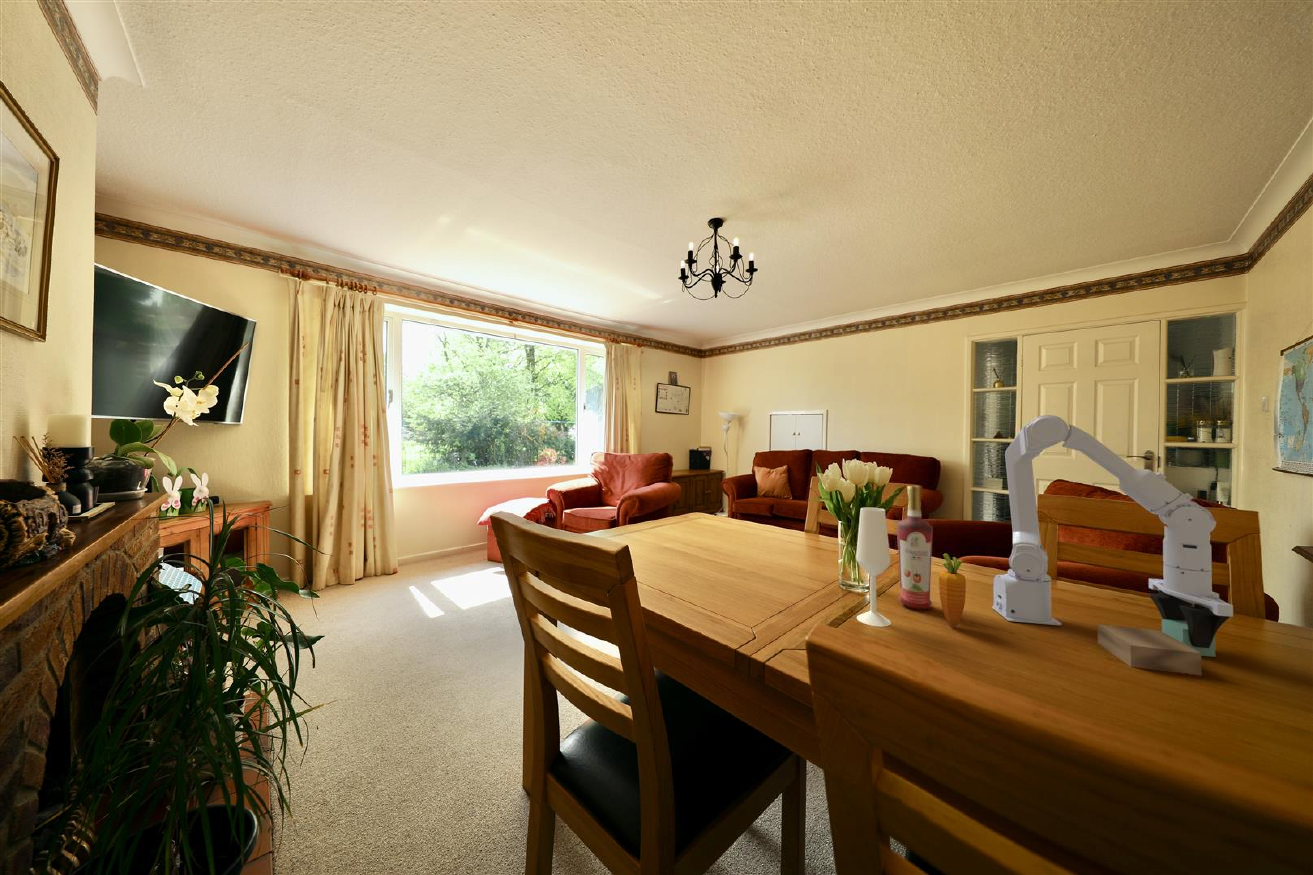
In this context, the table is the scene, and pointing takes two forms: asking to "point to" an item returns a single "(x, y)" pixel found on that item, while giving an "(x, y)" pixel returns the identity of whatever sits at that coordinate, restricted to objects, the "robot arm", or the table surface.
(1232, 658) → the table surface
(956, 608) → the carrot
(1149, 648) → the walnut base block
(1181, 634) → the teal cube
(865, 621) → the champagne flute
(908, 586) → the liquor
